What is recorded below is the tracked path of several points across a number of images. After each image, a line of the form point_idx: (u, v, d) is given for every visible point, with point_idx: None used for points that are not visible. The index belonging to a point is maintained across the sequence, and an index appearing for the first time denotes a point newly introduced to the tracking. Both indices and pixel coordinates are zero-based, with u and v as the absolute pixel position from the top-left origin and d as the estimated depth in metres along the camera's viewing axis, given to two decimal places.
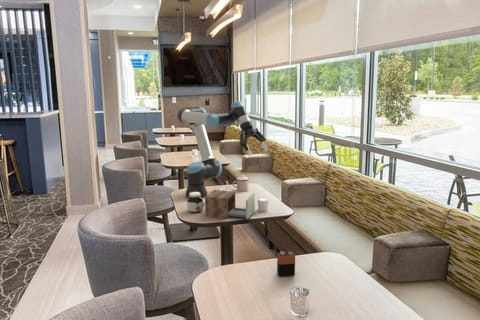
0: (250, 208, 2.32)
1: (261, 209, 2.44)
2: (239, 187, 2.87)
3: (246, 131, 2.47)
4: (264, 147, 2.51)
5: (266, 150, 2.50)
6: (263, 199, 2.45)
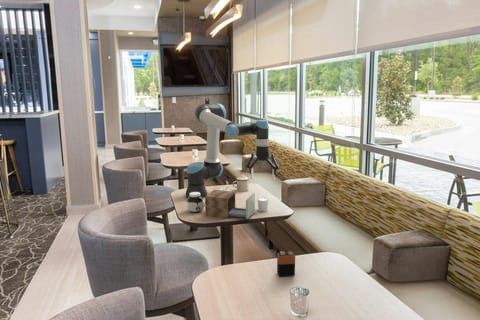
0: (250, 208, 2.32)
1: (261, 209, 2.44)
2: (239, 187, 2.87)
3: (257, 155, 2.40)
4: None
5: None
6: (263, 199, 2.45)
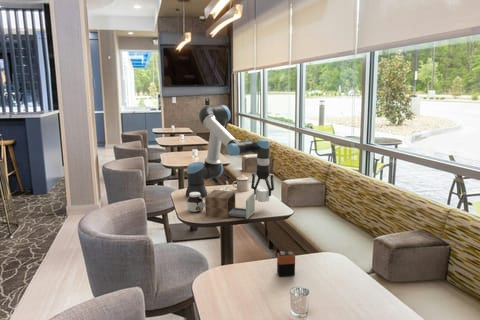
0: (250, 208, 2.32)
1: (260, 200, 2.43)
2: (239, 187, 2.87)
3: (258, 173, 2.42)
4: None
5: (267, 200, 2.44)
6: (263, 190, 2.45)
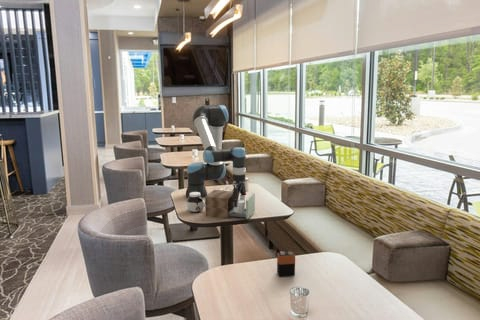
0: (250, 208, 2.32)
1: (243, 210, 2.35)
2: None
3: (239, 184, 2.30)
4: None
5: None
6: (239, 201, 2.36)
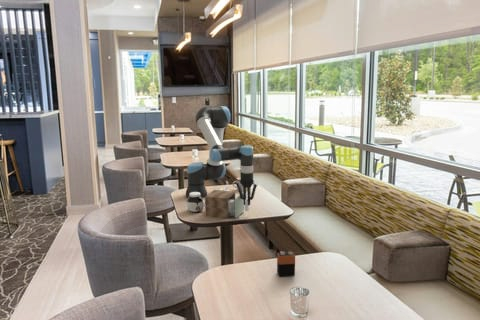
0: (239, 207, 2.34)
1: (233, 209, 2.37)
2: None
3: (241, 181, 2.31)
4: None
5: None
6: (228, 200, 2.38)
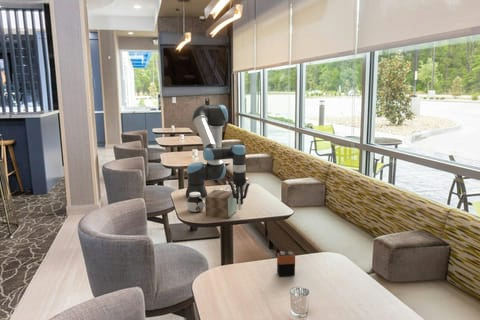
0: (232, 206, 2.35)
1: None
2: (239, 187, 2.87)
3: (234, 180, 2.32)
4: None
5: None
6: None
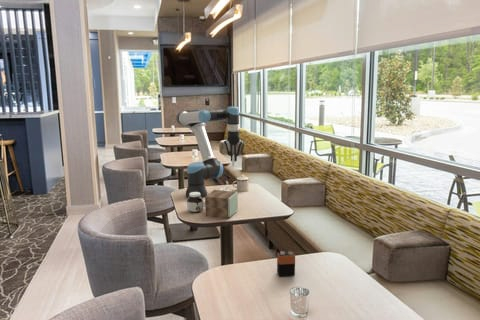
0: (232, 206, 2.35)
1: None
2: (239, 187, 2.87)
3: (229, 139, 2.56)
4: None
5: (233, 166, 2.59)
6: None
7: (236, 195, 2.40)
